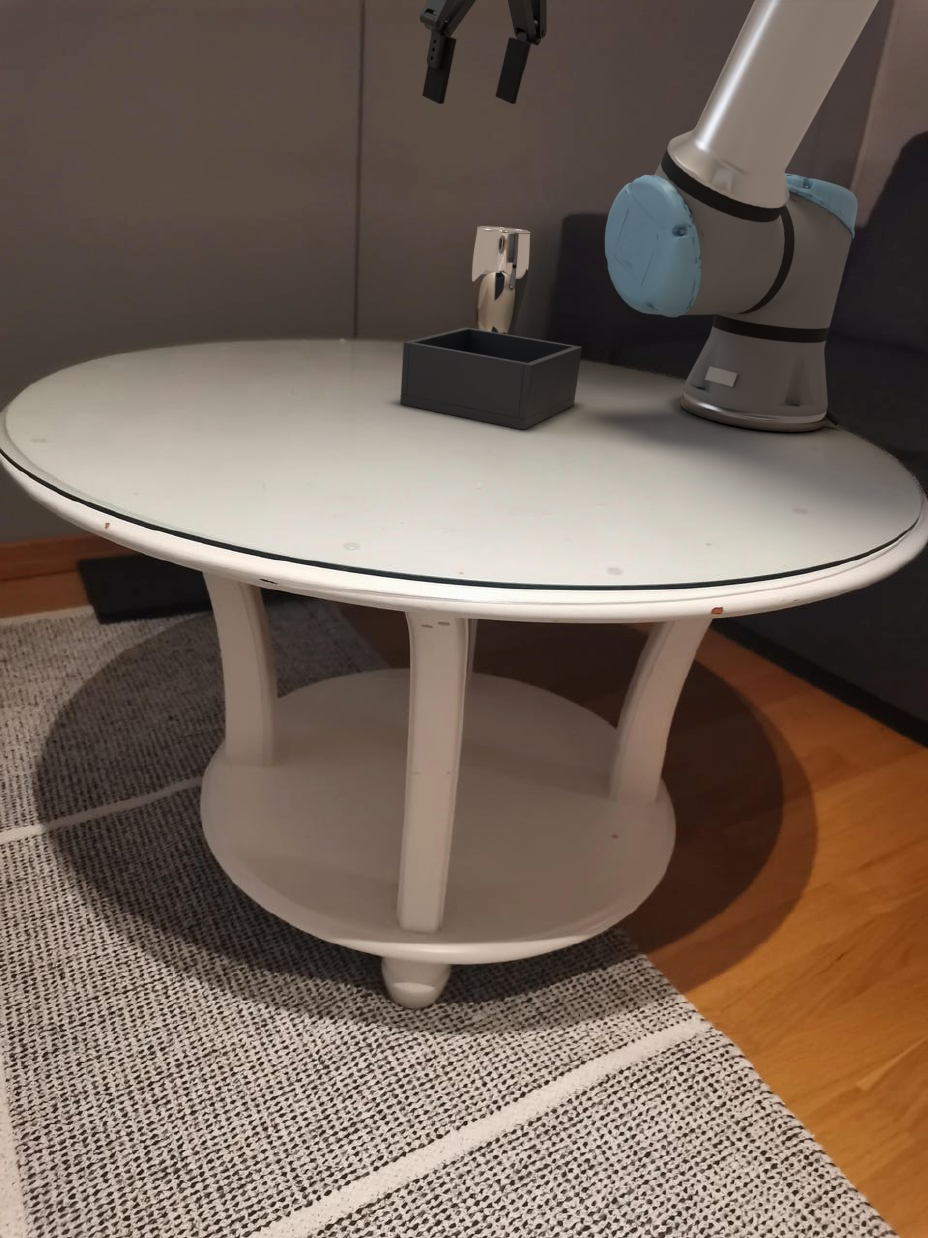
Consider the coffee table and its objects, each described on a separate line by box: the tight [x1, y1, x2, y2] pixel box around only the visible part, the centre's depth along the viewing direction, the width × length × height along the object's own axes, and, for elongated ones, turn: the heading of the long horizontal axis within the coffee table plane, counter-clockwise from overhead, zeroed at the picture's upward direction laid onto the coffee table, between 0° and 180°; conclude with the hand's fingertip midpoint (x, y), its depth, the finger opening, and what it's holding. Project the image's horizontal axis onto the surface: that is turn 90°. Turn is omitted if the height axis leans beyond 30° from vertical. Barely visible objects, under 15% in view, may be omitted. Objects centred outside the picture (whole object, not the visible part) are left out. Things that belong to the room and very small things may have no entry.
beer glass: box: [470, 225, 532, 336], centre depth 116 cm, size 7×7×15 cm
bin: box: [399, 326, 583, 431], centre depth 95 cm, size 13×13×6 cm
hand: (470, 100), depth 112 cm, fingers open, 13 cm apart
